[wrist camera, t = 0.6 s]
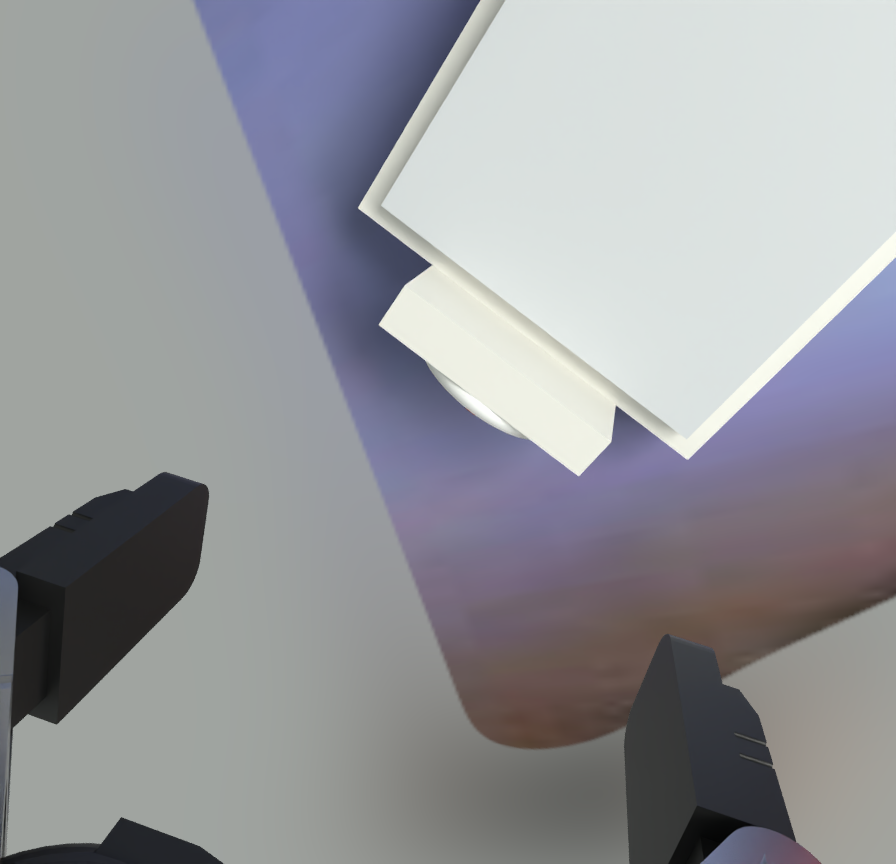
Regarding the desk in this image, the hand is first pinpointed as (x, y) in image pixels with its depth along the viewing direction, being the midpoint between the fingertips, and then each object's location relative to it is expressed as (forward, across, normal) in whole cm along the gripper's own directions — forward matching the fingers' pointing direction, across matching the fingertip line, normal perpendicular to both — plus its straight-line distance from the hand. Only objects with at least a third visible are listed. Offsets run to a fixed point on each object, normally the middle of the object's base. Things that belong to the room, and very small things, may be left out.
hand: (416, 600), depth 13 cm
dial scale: (+24, -3, -8) cm, 26 cm away
